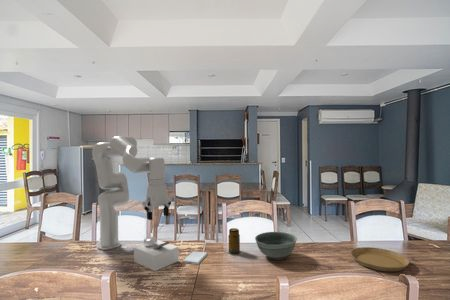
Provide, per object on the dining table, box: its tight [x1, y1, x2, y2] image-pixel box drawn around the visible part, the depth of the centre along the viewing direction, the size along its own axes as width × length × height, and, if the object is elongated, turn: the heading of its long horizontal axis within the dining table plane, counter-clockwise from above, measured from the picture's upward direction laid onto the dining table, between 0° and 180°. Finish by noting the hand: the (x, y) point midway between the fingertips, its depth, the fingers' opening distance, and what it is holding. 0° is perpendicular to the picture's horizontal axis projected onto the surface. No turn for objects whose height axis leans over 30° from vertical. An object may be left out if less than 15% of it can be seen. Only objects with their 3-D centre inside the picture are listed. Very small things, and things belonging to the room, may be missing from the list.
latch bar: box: [153, 241, 170, 249], centre depth 126 cm, size 7×5×1 cm
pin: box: [143, 236, 158, 248], centre depth 132 cm, size 6×6×9 cm
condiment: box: [225, 227, 246, 257], centre depth 139 cm, size 7×8×12 cm
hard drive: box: [182, 250, 208, 265], centre depth 132 cm, size 2×8×12 cm
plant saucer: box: [350, 246, 410, 273], centre depth 125 cm, size 24×24×3 cm
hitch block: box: [133, 239, 179, 272], centre depth 129 cm, size 17×14×7 cm
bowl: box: [254, 231, 297, 261], centre depth 133 cm, size 21×21×10 cm
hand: (158, 217), depth 128 cm, fingers open, 9 cm apart
